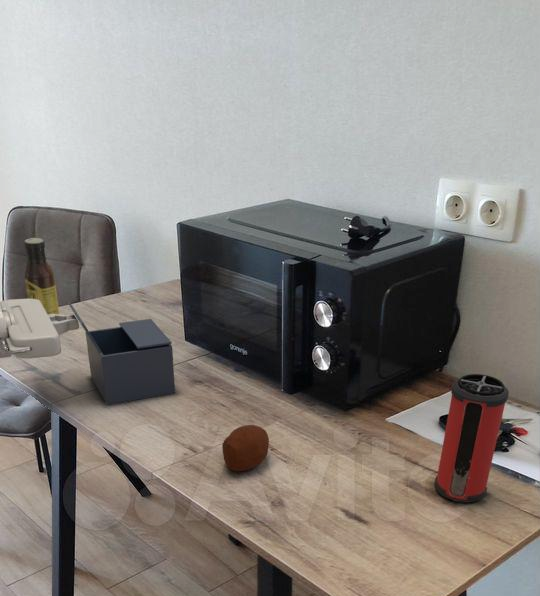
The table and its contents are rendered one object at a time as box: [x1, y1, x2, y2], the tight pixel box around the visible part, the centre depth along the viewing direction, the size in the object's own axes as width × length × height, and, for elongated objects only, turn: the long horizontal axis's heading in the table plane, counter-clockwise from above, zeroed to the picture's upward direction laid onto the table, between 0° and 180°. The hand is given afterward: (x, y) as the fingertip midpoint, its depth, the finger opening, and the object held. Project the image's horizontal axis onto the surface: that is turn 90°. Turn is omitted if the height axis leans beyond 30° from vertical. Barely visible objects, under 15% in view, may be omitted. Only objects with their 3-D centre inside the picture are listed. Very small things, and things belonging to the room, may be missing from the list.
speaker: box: [434, 373, 510, 504], centre depth 103 cm, size 8×8×18 cm
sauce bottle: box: [23, 237, 60, 315], centre depth 154 cm, size 7×6×20 cm
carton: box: [85, 318, 176, 406], centre depth 133 cm, size 13×13×10 cm
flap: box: [66, 299, 102, 353], centre depth 126 cm, size 6×13×1 cm
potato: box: [221, 424, 270, 472], centre depth 111 cm, size 7×9×6 cm
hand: (77, 321), depth 125 cm, fingers closed
